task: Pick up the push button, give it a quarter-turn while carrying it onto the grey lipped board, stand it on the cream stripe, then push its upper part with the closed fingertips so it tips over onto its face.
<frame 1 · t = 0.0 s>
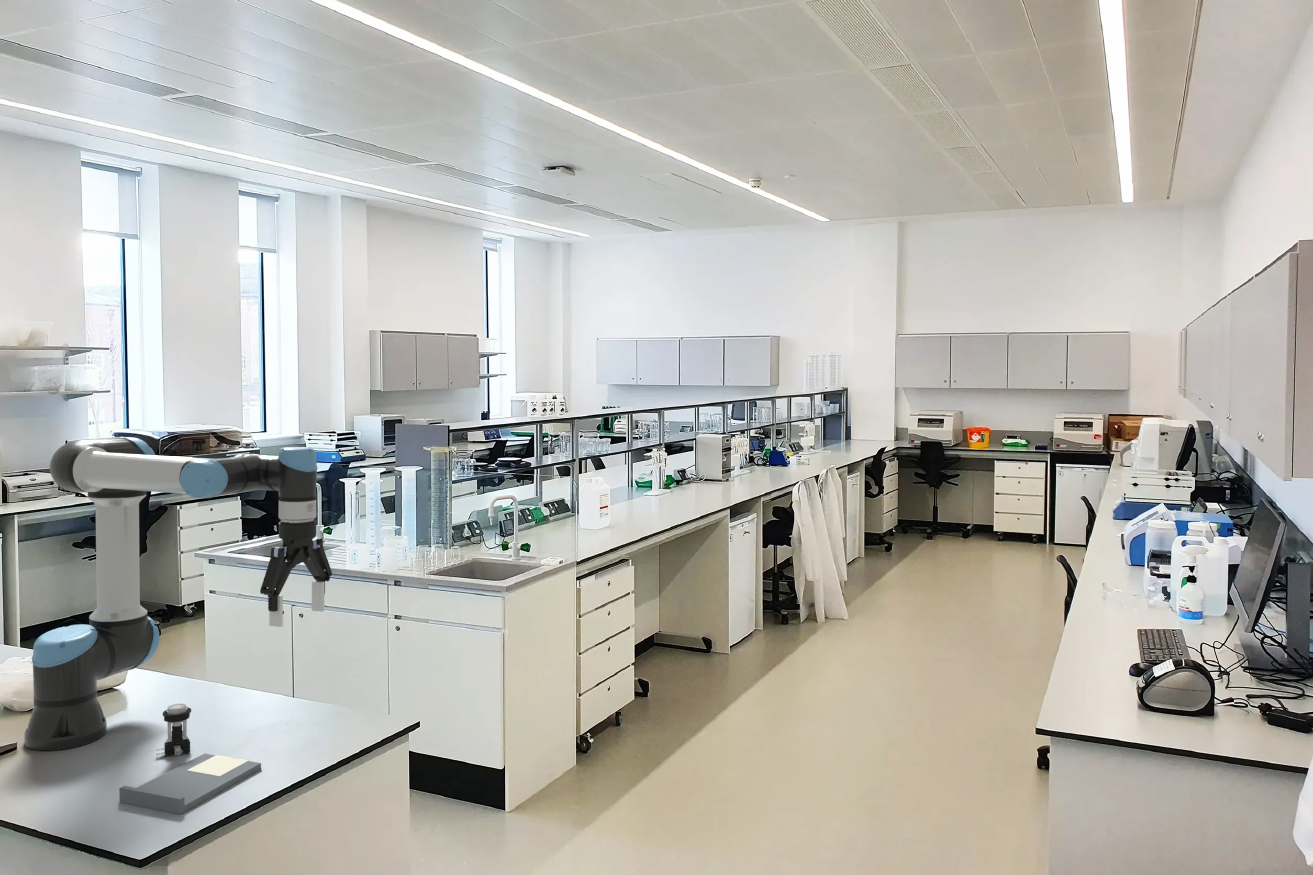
hand: (297, 618, 199), 28 cm above the lab bench, fingers open, 13 cm apart
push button: (173, 754, 195), on the lab bench
grey lipped board: (193, 784, 180), on the lab bench
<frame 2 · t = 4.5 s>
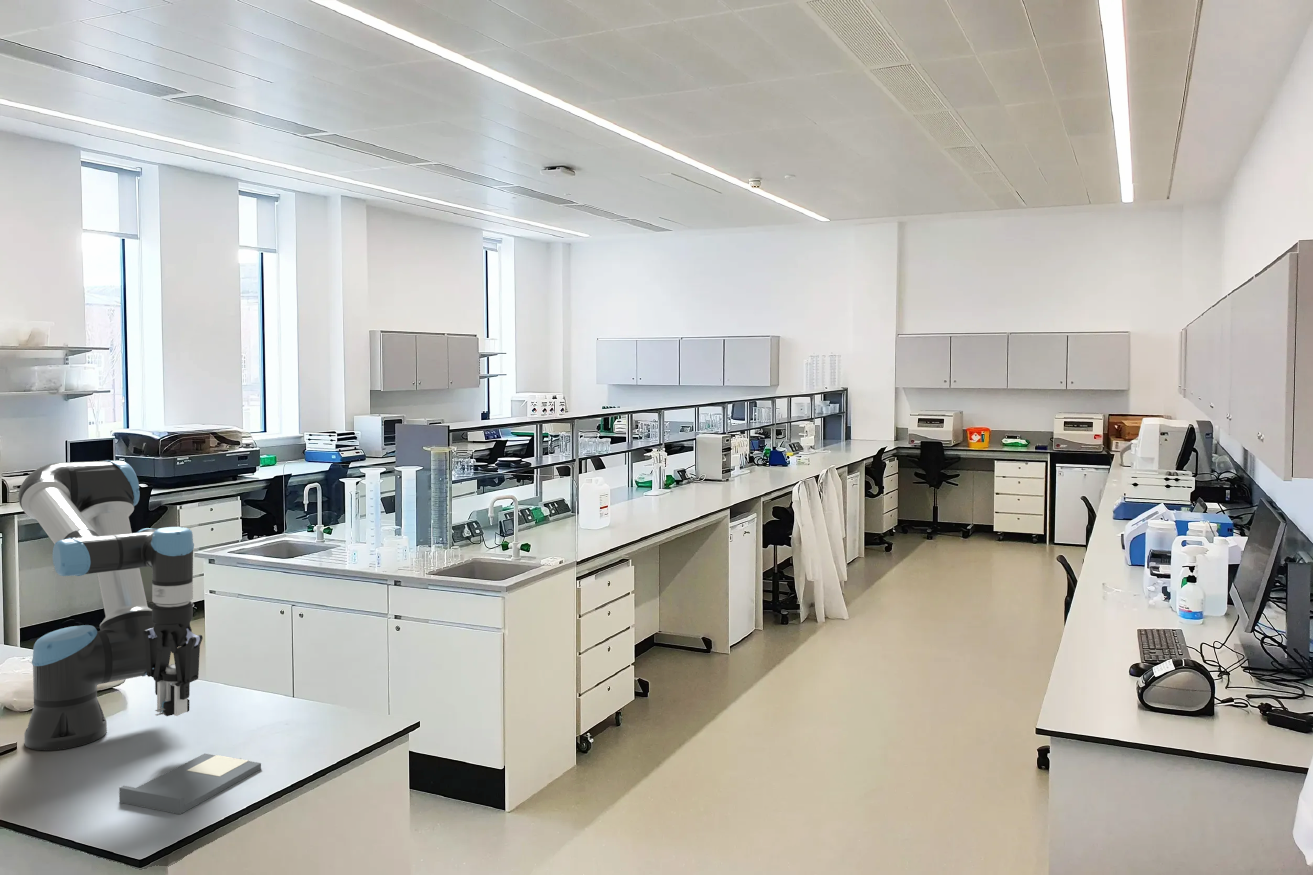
hand: (172, 711, 195), 9 cm above the lab bench, fingers closed on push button, 4 cm apart
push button: (172, 714, 195), point 8 cm above the lab bench, touching gripper
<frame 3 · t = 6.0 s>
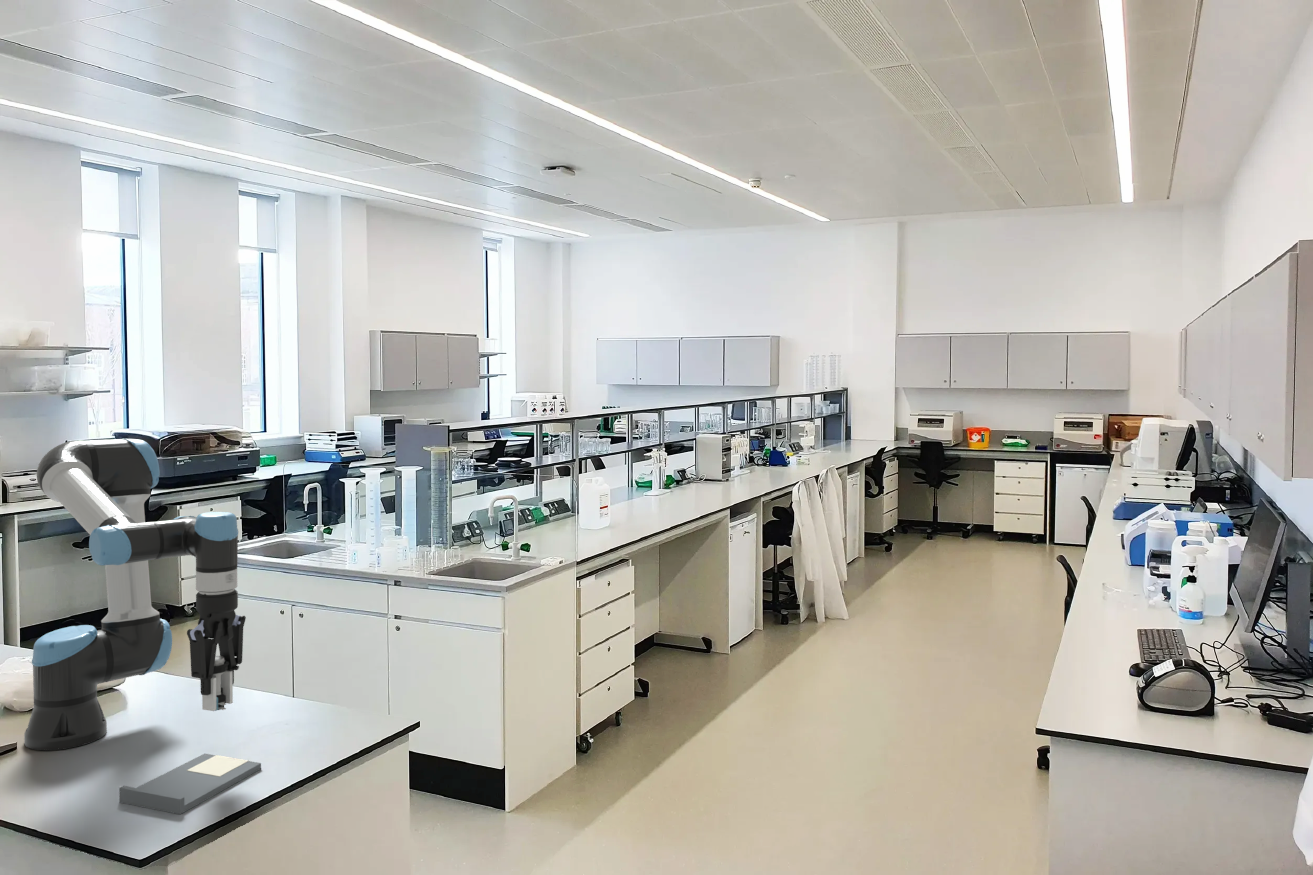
hand: (217, 705, 186), 14 cm above the lab bench, fingers closed on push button, 4 cm apart
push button: (216, 709, 186), point 13 cm above the lab bench, touching gripper
when the fingers open (2 cm above the lab bench, at t = 8.0 s): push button stays where it is, resting on grey lipped board.
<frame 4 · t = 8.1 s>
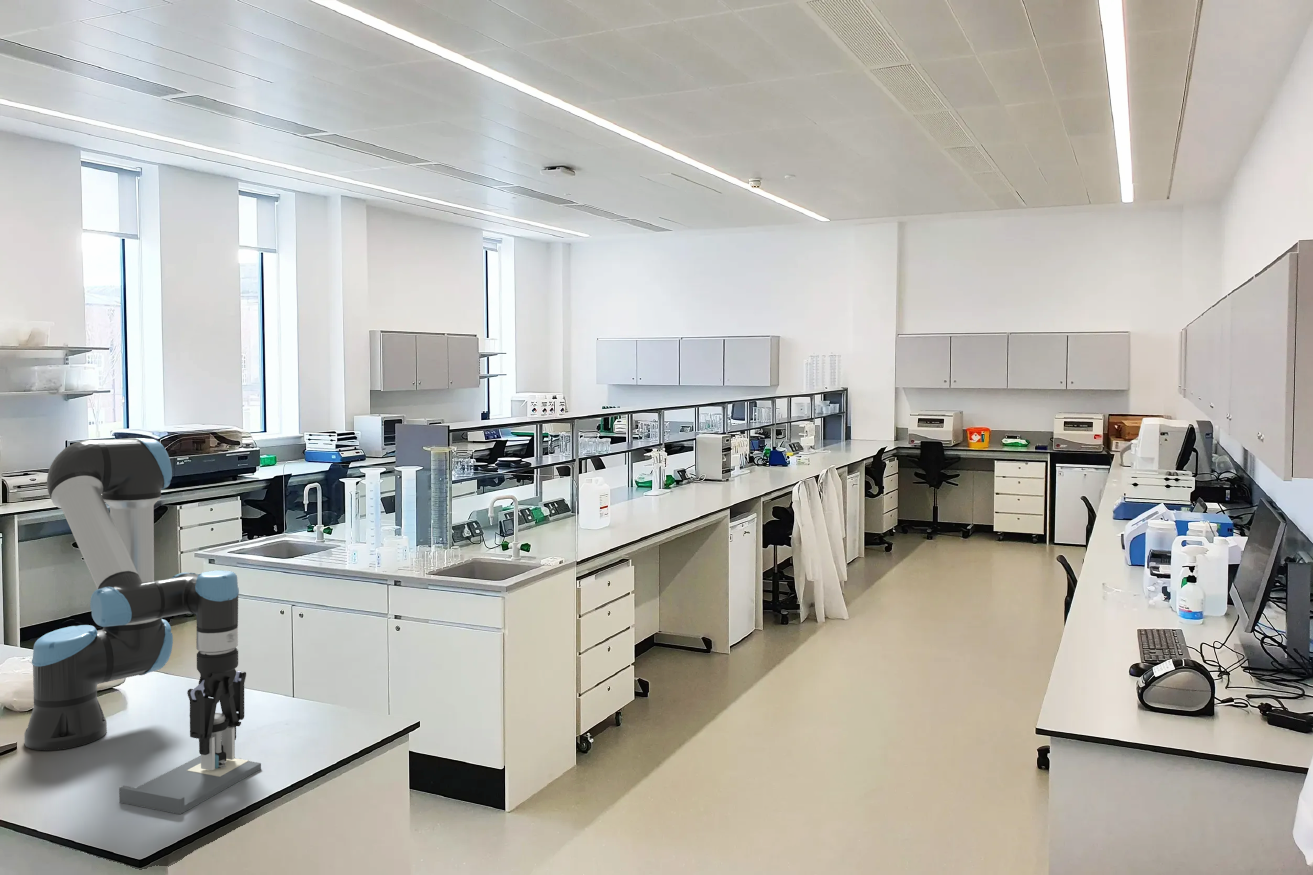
hand: (218, 762, 186), 2 cm above the lab bench, fingers open, 5 cm apart
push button: (216, 766, 186), point 1 cm above the lab bench, touching grey lipped board
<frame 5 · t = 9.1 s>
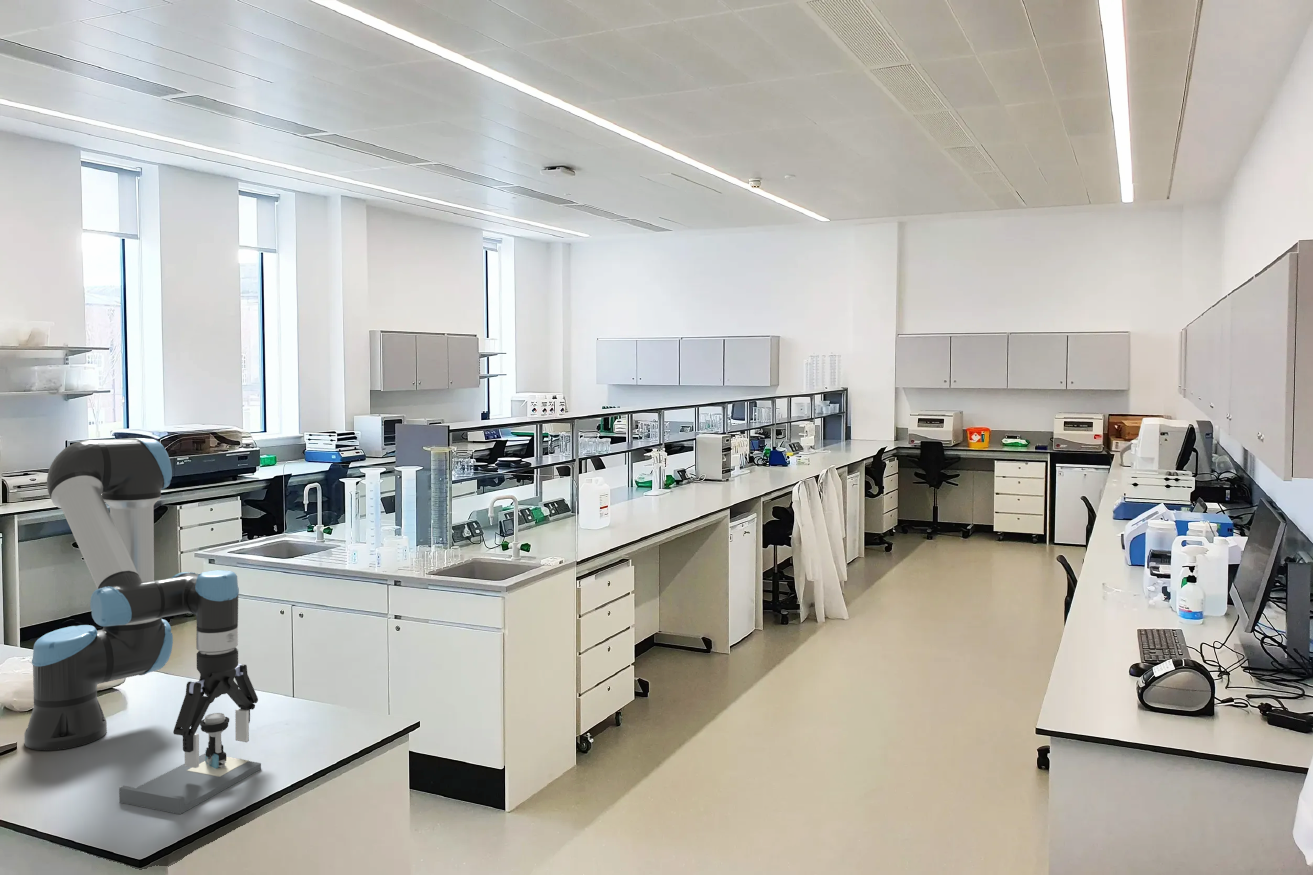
hand: (217, 753, 186), 4 cm above the lab bench, fingers open, 13 cm apart
nothing on the lab bench moved.
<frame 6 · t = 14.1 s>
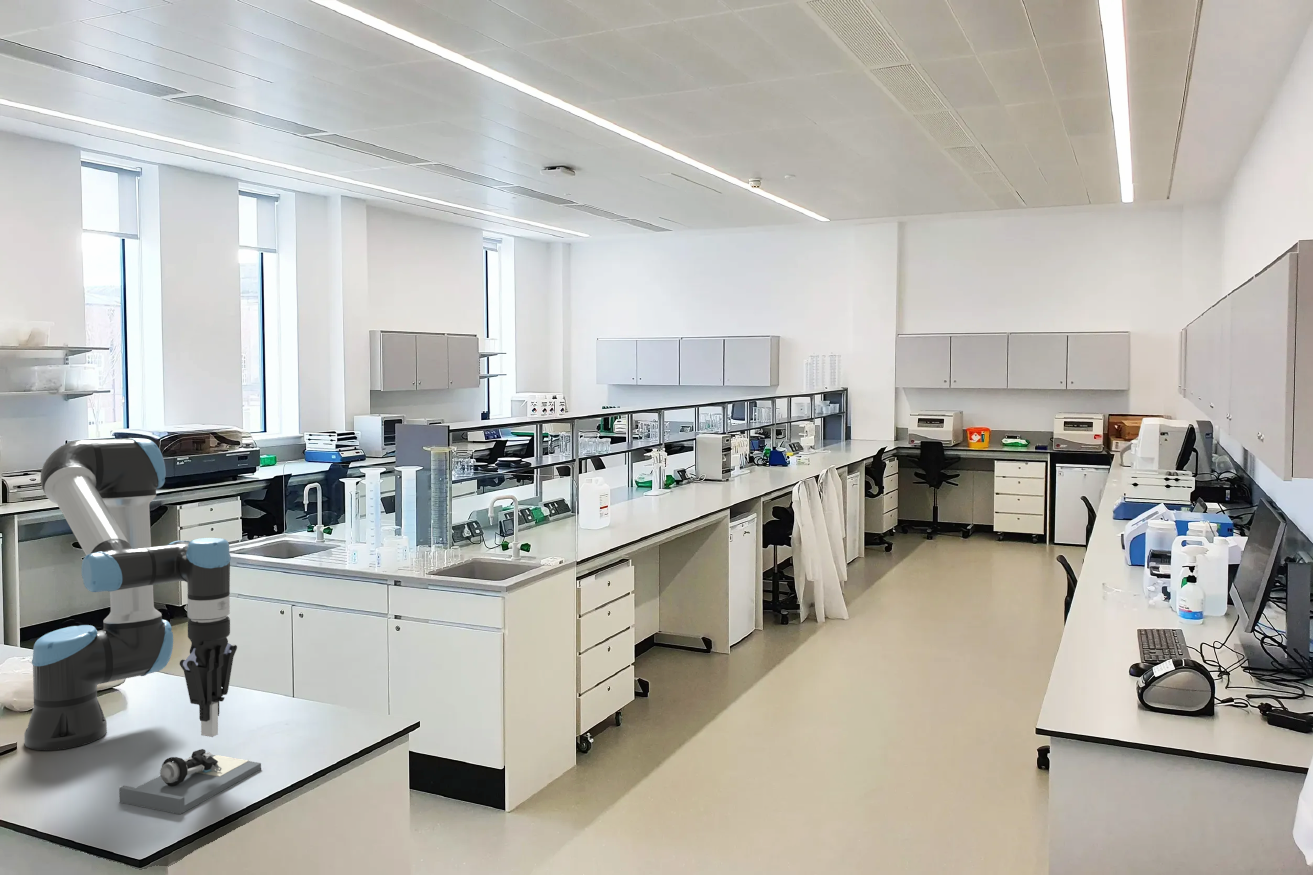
hand: (209, 734, 184), 8 cm above the lab bench, fingers closed
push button: (212, 760, 185), point 3 cm above the lab bench, touching grey lipped board
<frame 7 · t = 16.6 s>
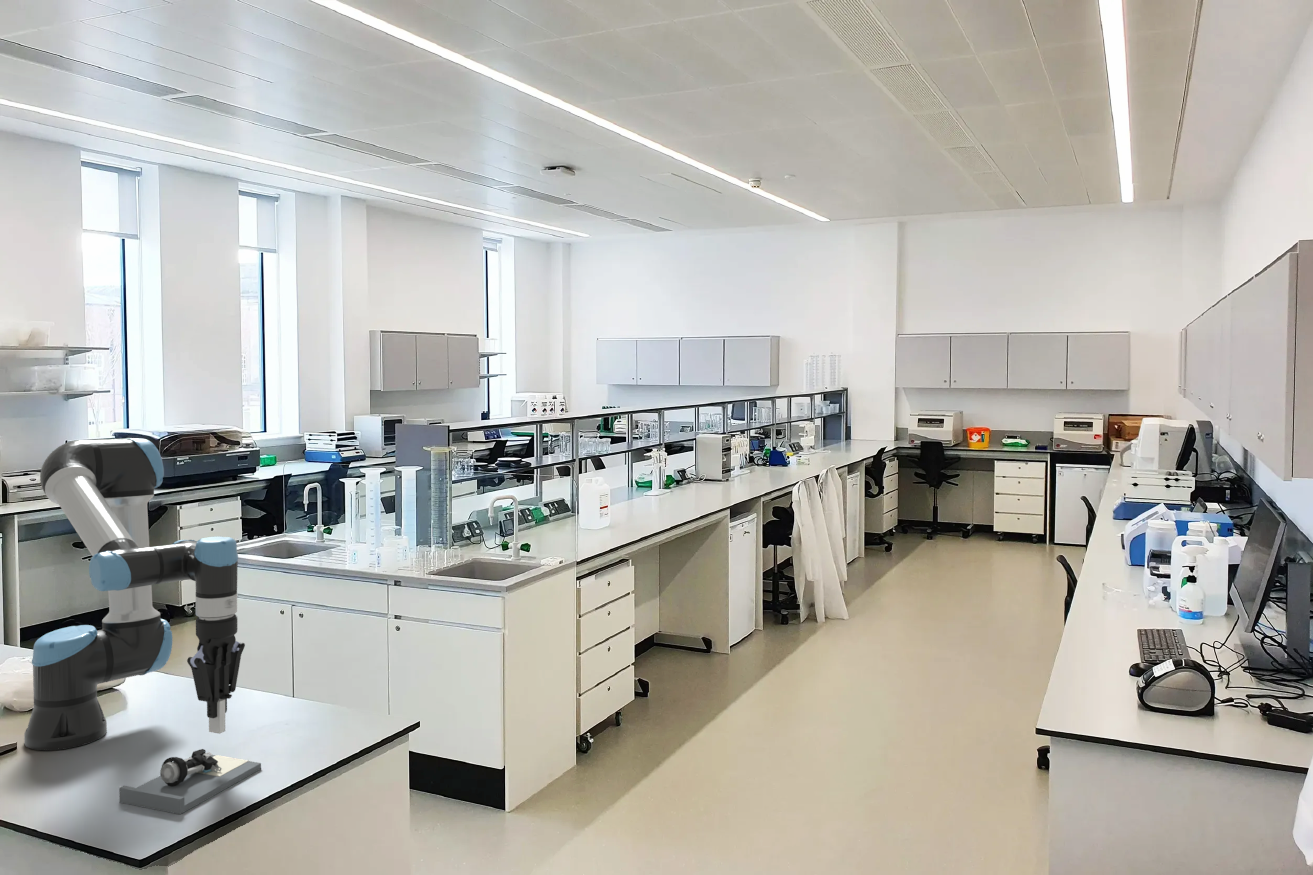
hand: (217, 731, 186), 8 cm above the lab bench, fingers closed
nothing on the lab bench moved.
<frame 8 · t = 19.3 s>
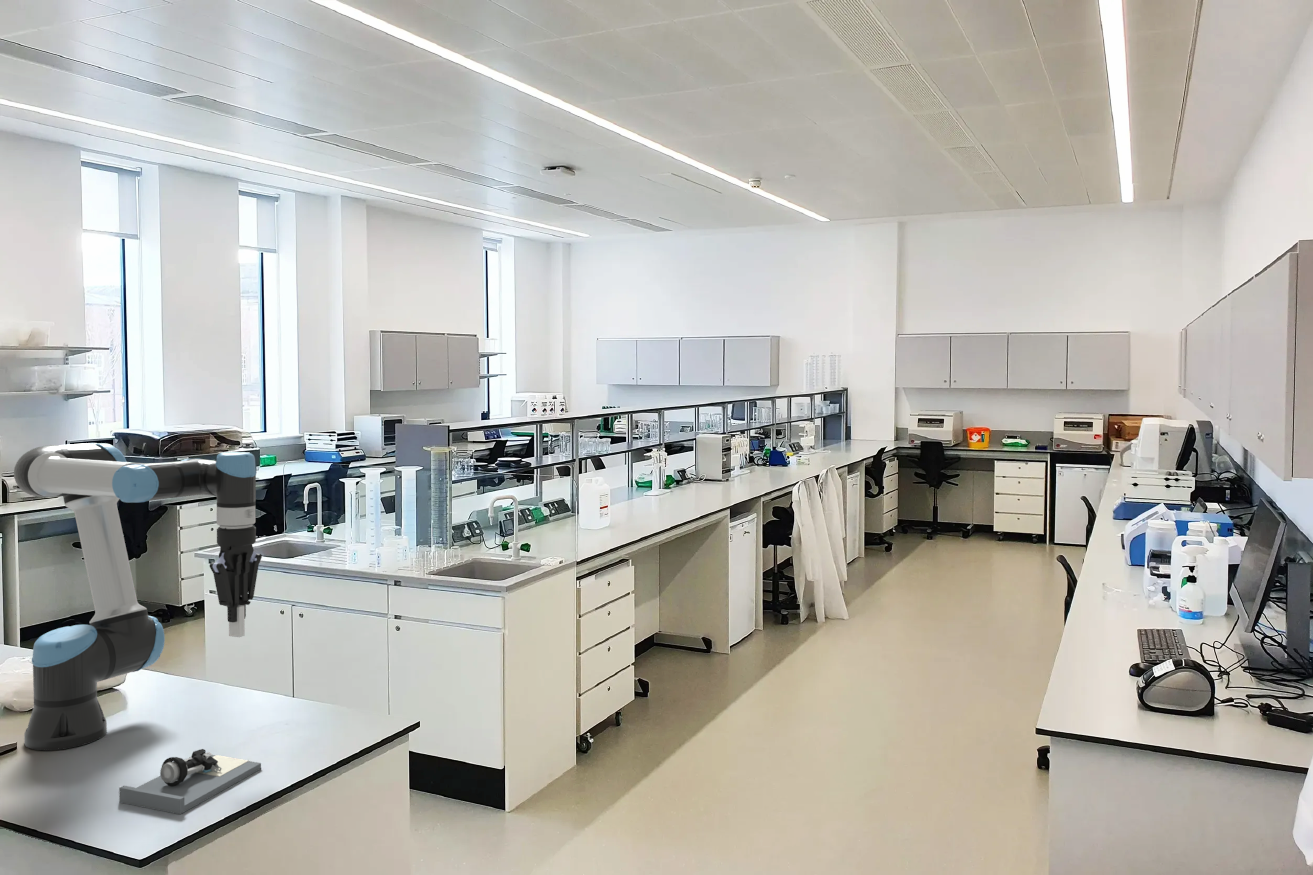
hand: (236, 635, 197), 24 cm above the lab bench, fingers closed
nothing on the lab bench moved.
at the end: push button tilted 83°; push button inside the target area (6.2 cm from its centre), point 2.6 cm above the lab bench; the gripper is holding nothing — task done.
